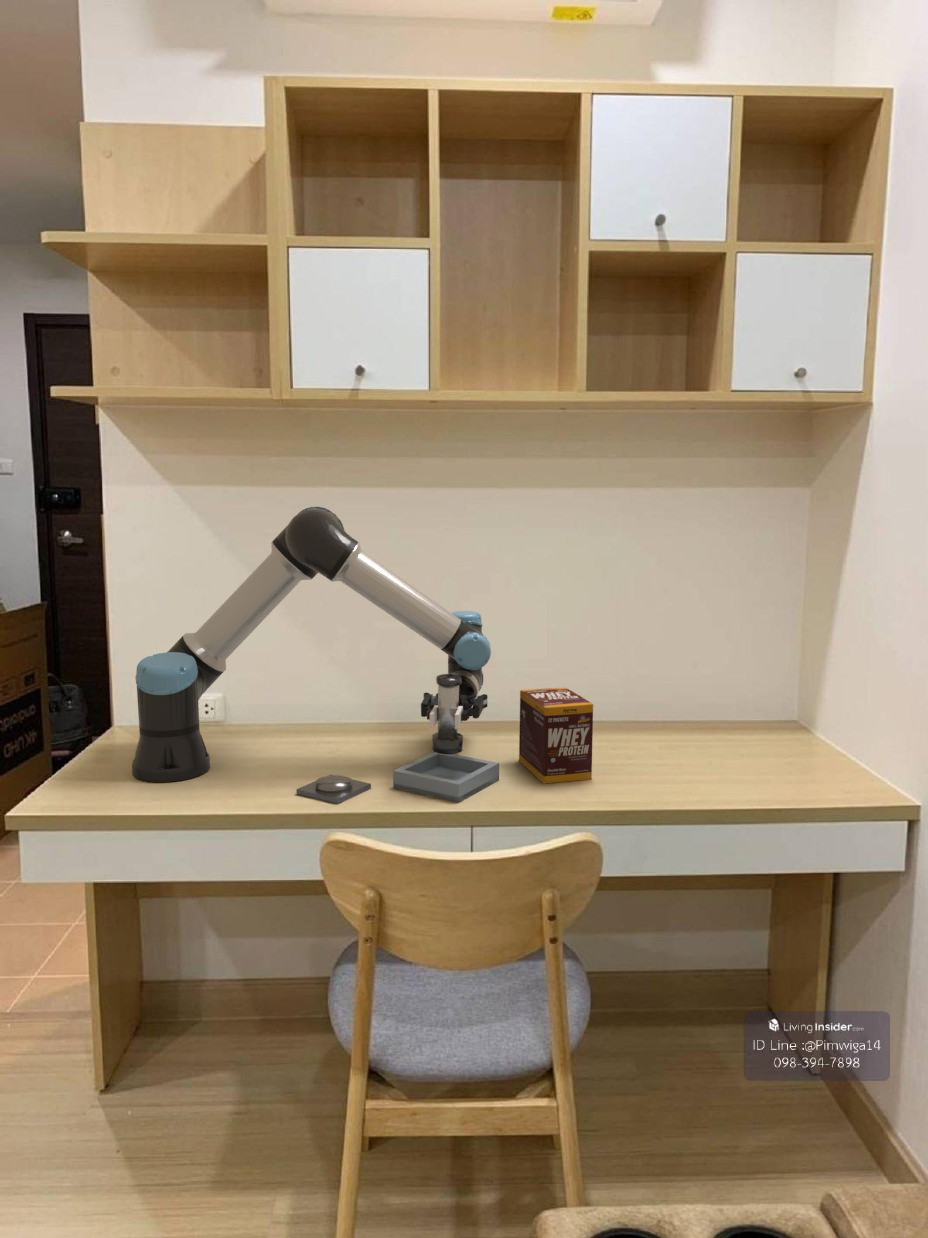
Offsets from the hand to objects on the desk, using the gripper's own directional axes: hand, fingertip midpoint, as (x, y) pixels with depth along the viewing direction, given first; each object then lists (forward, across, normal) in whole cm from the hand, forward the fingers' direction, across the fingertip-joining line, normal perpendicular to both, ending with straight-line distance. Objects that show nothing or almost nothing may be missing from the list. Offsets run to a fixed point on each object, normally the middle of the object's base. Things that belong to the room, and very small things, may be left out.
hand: (444, 721), depth 174 cm
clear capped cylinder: (-6, 0, -7) cm, 9 cm away
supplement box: (-17, -20, -14) cm, 30 cm away
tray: (-5, 0, -14) cm, 15 cm away
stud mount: (+2, +21, -14) cm, 25 cm away
